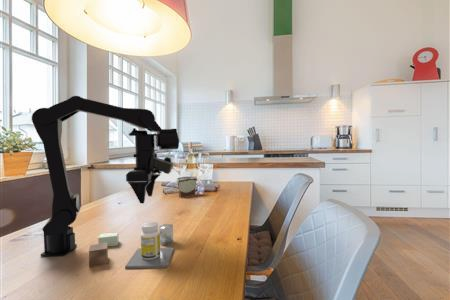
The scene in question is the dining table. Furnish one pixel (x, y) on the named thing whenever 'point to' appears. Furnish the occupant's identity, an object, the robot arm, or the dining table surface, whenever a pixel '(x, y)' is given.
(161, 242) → the metal shaker
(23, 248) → the dining table surface
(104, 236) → the sage box
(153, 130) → the robot arm
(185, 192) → the food container
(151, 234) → the supplement bottle
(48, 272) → the dining table surface
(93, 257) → the walnut block
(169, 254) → the coaster
